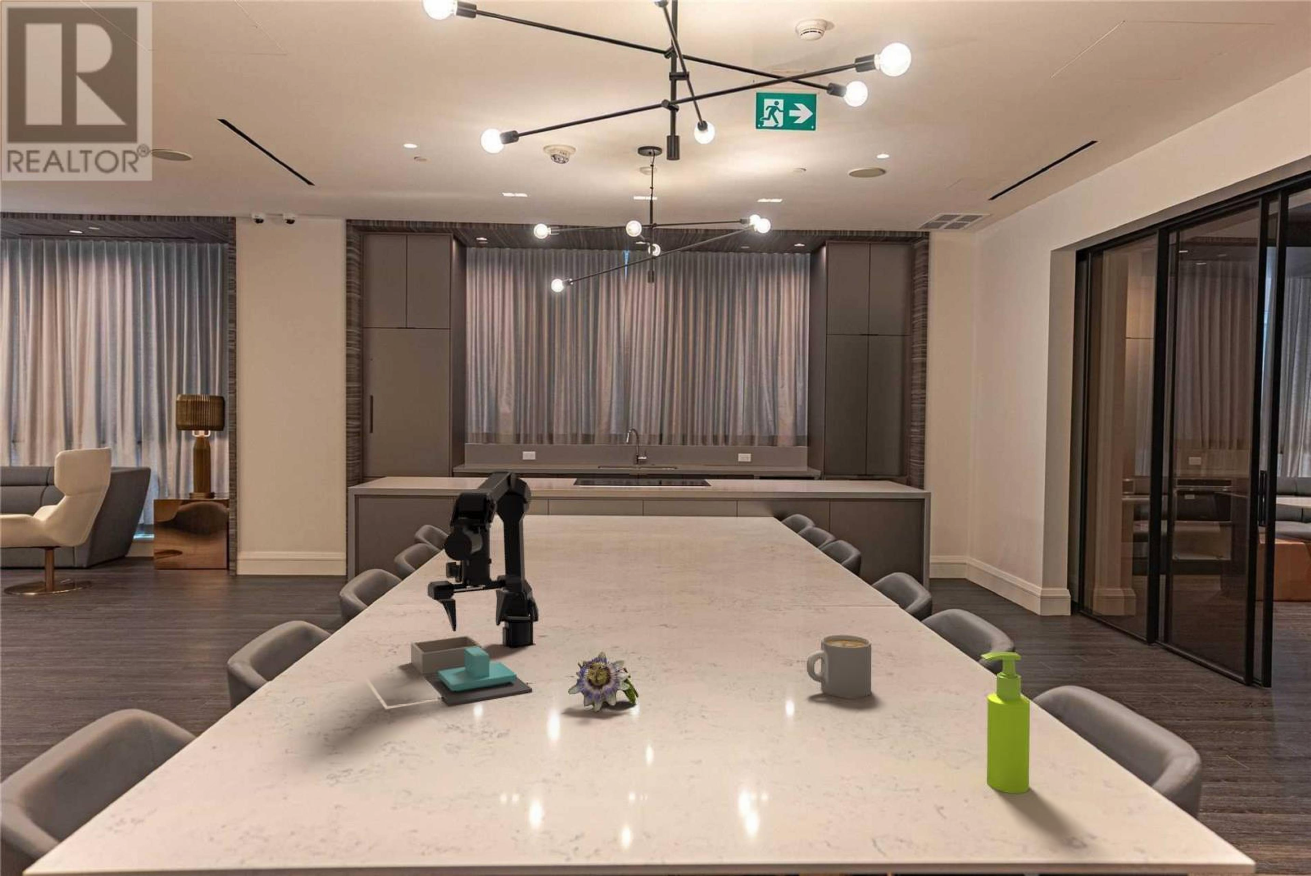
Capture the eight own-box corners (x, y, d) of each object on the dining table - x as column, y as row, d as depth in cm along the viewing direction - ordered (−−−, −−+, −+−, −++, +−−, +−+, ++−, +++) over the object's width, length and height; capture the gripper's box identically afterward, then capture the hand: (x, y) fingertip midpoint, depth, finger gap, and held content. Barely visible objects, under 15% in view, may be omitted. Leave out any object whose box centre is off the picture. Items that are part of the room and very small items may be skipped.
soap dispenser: (973, 777, 129) (974, 648, 129) (1016, 775, 130) (1017, 647, 129) (991, 794, 124) (993, 659, 123) (1036, 792, 124) (1038, 658, 124)
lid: (499, 670, 182) (499, 641, 181) (516, 684, 172) (516, 653, 172) (438, 680, 175) (437, 650, 175) (452, 694, 166) (451, 662, 166)
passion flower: (598, 739, 159) (560, 692, 157) (599, 708, 170) (564, 664, 167) (647, 707, 158) (610, 659, 156) (645, 679, 168) (611, 633, 166)
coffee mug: (862, 681, 176) (862, 634, 176) (877, 697, 166) (878, 647, 166) (799, 682, 175) (799, 635, 175) (811, 698, 165) (811, 648, 165)
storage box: (468, 656, 194) (467, 635, 194) (481, 668, 185) (481, 645, 185) (411, 665, 188) (410, 642, 188) (422, 677, 179) (422, 654, 179)
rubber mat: (501, 667, 186) (501, 664, 186) (532, 691, 170) (532, 688, 170) (424, 679, 178) (424, 676, 178) (448, 706, 161) (448, 703, 161)
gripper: (506, 544, 185) (506, 615, 185) (420, 551, 175) (420, 625, 176) (524, 551, 175) (524, 625, 175) (434, 558, 166) (435, 637, 166)
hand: (476, 628), depth 173 cm, fingers open, 9 cm apart
